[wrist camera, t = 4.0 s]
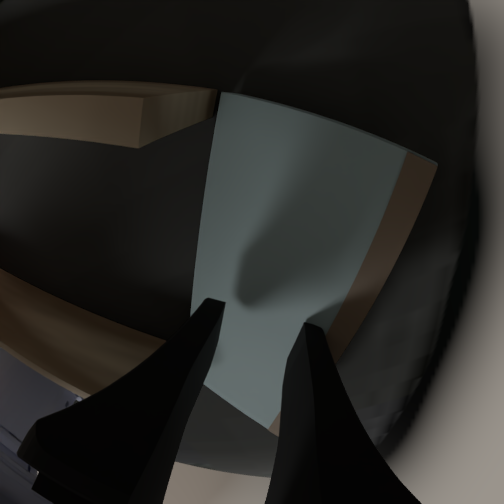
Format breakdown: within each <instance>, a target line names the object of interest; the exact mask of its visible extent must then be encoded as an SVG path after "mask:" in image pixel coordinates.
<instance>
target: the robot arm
mask: <svg viewBox="0 0 504 504" xmlns="http://www.w3.org/2000/svg"><path fill="white" fill-rule="evenodd" d="M225 305H226V302H223V301H220V300H216V299H212V298H209V297H208V298H206V299H204V301H203V302H202V303H201V305H200V306H199V307H198V308H197V310H196V311H195V312H194V313H193V314H192V315H191V317H190V318H189V319H188V320H187V321H186V322H185V323H184V324H183V325H182V326H181V327H180V328H179V329H178V330H177V331H176V332H175V333H174V334H173V335H172V336H171V337H170V338H169V339H168V340H167V341H166V342H165V343H164V344H163V345H162V346H160V347H159V348H158V349H157V350H156V351H155V352H154V353H152V354H151V355H150V356H149V357H148V358H146V359H145V360H144V361H143V362H142V363H140V364H139V365H138V366H136V367H135V368H134V369H132V370H131V371H129V372H128V373H127V374H125V375H124V376H122V377H121V378H119V379H118V380H116V381H115V382H113V383H112V384H110V385H109V386H107V387H105V388H104V389H102V390H100V391H98V392H97V393H95V394H93V395H91V396H89V397H87V398H85V399H84V398H82V397H80V396H78V395H76V394H75V393H73V392H71V391H69V390H67V389H65V388H63V387H62V386H60V385H58V384H56V383H55V382H53V381H51V380H50V379H48V378H46V377H45V376H43V375H41V374H40V373H38V372H36V371H35V370H33V369H32V368H30V367H29V366H27V365H25V364H24V363H22V362H21V361H19V360H18V359H17V358H15V357H14V356H12V355H11V354H9V353H8V352H7V351H5V350H4V349H2V348H1V347H0V504H163V500H164V496H165V492H166V489H167V485H168V482H169V479H170V475H171V472H172V468H173V465H174V462H175V458H176V455H177V452H178V449H179V445H180V442H181V439H182V436H183V432H184V429H185V426H186V424H187V421H188V418H189V416H190V414H191V411H192V409H193V407H194V404H195V402H196V400H197V397H198V395H199V393H200V390H201V388H202V386H203V383H204V381H205V379H206V376H207V374H208V372H209V369H210V367H211V364H212V361H213V357H214V354H215V351H216V348H217V344H218V341H219V336H220V330H221V325H222V320H223V315H224V310H225ZM75 400H78V401H79V402H78V403H76V404H74V405H73V403H74V401H75ZM37 471H39V473H38V475H37ZM265 504H421V503H420V501H418V499H416V497H415V496H414V495H413V494H412V493H411V492H410V491H409V490H408V489H407V488H406V487H405V486H404V485H403V483H402V482H401V481H400V480H399V479H398V477H397V476H396V475H395V474H394V473H393V471H392V470H391V469H390V467H389V466H388V464H387V463H386V462H385V460H384V459H383V457H382V456H381V455H380V453H379V452H378V450H377V449H376V447H375V446H374V444H373V442H372V441H371V439H370V437H369V436H368V434H367V432H366V431H365V429H364V427H363V425H362V423H361V422H360V420H359V418H358V416H357V414H356V412H355V410H354V408H353V406H352V404H351V401H350V399H349V397H348V395H347V393H346V390H345V388H344V386H343V383H342V381H341V378H340V376H339V373H338V371H337V368H336V365H335V363H334V360H333V357H332V354H331V352H330V349H329V346H328V343H327V340H326V336H325V333H324V331H323V329H322V328H321V327H319V326H316V325H314V324H311V323H306V322H304V323H303V326H302V328H301V330H300V332H299V334H298V336H297V339H296V341H295V343H294V345H293V347H292V349H291V351H290V353H289V356H288V358H287V362H286V367H285V373H284V379H283V385H282V399H281V413H280V427H279V439H278V447H277V453H276V458H275V463H274V468H273V472H272V477H271V481H270V485H269V489H268V493H267V497H266V501H265Z"/></svg>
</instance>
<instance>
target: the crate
mask: <svg viewBox="0 0 504 504" xmlns="http://www.w3.org/2000/svg"><path fill="white" fill-rule="evenodd" d="M216 96H217V89H210V88H203V87H196V86H187V85H178V84H168V83H156V82H141V81H116V80H85V81H60V82H46V83H35V84H26V85H18V86H10V87H3V88H0V134H16V135H30V136H43V137H54V138H64V139H73V140H82V141H90V142H98V143H105V144H112V145H119V146H126V147H132V148H141V147H143V146H145V145H147V144H149V143H151V142H153V141H156V140H158V139H160V138H162V137H165V136H167V135H169V134H172V133H174V132H176V131H179V130H181V129H184V128H186V127H189V126H191V125H194V124H196V123H199V122H201V121H204V120H207V119H209V118H212V117H213V112H214V106H215V101H216ZM165 342H166V340H163V339H160V338H157V337H154V336H151V335H148V334H146V333H143V332H140V331H137V330H135V329H132V328H129V327H127V326H124V325H121V324H119V323H116V322H114V321H111V320H109V319H106V318H104V317H101V316H99V315H96V314H94V313H91V312H89V311H87V310H84V309H82V308H80V307H77V306H75V305H73V304H71V303H68V302H66V301H64V300H62V299H60V298H58V297H55V296H53V295H51V294H49V293H47V292H45V291H43V290H41V289H39V288H37V287H35V286H33V285H31V284H29V283H27V282H25V281H23V280H21V279H19V278H17V277H15V276H13V275H12V274H10V273H8V272H6V271H4V270H2V269H1V268H0V347H1V348H2V349H4V350H5V351H7V352H8V353H9V354H11V355H12V356H14V357H15V358H17V359H18V360H19V361H21V362H22V363H24V364H25V365H27V366H29V367H30V368H32V369H33V370H35V371H36V372H38V373H40V374H41V375H43V376H45V377H46V378H48V379H50V380H51V381H53V382H55V383H56V384H58V385H60V386H62V387H63V388H65V389H67V390H69V391H71V392H73V393H75V394H76V395H78V396H80V397H82V398H84V399H85V398H87V397H89V396H91V395H93V394H95V393H97V392H98V391H100V390H102V389H104V388H105V387H107V386H109V385H110V384H112V383H113V382H115V381H116V380H118V379H119V378H121V377H122V376H124V375H125V374H127V373H128V372H129V371H131V370H132V369H134V368H135V367H136V366H138V365H139V364H140V363H142V362H143V361H144V360H145V359H146V358H148V357H149V356H150V355H151V354H152V353H154V352H155V351H156V350H157V349H158V348H159V347H160V346H162V345H163V344H164V343H165Z"/></svg>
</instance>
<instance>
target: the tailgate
mask: <svg viewBox="0 0 504 504" xmlns="http://www.w3.org/2000/svg"><path fill="white" fill-rule="evenodd" d="M437 167H438V164H437V162H435V161H433V160H431V159H429V158H427V157H424V156H422V155H420V154H418V153H416V152H414V151H412V150H409V149H407V148H405V147H402V146H400V145H398V144H396V143H393V142H391V141H389V140H386V139H384V138H381V137H379V136H376V135H374V134H371V133H369V132H366V131H364V130H361V129H358V128H356V127H353V126H350V125H348V124H345V123H342V122H339V121H336V120H333V119H330V118H327V117H324V116H321V115H318V114H315V113H312V112H308V111H305V110H302V109H298V108H295V107H291V106H288V105H284V104H280V103H277V102H273V101H269V100H265V99H261V98H257V97H252V96H248V95H244V94H239V93H230V92H221V97H220V102H219V108H218V113H217V119H216V124H215V130H214V136H213V142H212V148H211V154H210V160H209V166H208V173H207V179H206V186H205V193H204V200H203V207H202V215H201V222H200V230H199V238H198V246H197V255H196V263H195V273H194V282H193V292H192V302H191V313H190V317H191V315H192V314H193V313H194V312H195V311H196V310H197V308H198V307H199V306H200V305H201V303H202V302H203V301H204V299H206V298H208V297H209V298H212V299H216V300H220V301H223V302H226V305H225V310H224V315H223V320H222V325H221V330H220V336H219V341H218V344H217V348H216V351H215V354H214V357H213V361H212V364H211V367H210V369H209V372H208V374H207V376H206V379H205V381H204V383H203V384H204V385H206V386H207V387H208V388H210V389H211V390H212V391H214V392H215V393H216V394H218V395H219V396H221V397H222V398H223V399H225V400H226V401H227V402H229V403H230V404H232V405H233V406H234V407H236V408H237V409H239V410H240V411H242V412H243V413H244V414H246V415H247V416H249V417H250V418H252V419H253V420H255V421H256V422H258V423H259V424H261V425H262V426H264V427H266V428H267V429H268V430H269V431H270V432H272V433H273V434H275V435H277V436H278V437H279V427H280V413H281V399H282V385H283V379H284V373H285V367H286V362H287V358H288V356H289V353H290V351H291V349H292V347H293V345H294V343H295V341H296V339H297V336H298V334H299V332H300V330H301V328H302V326H303V323H304V322H306V323H311V324H314V325H316V326H319V327H321V328H322V329H323V331H324V333H325V336H326V340H327V343H328V346H329V349H330V352H331V354H332V357H333V360H334V363H335V364H336V363H337V361H338V360H339V358H340V357H341V355H342V354H343V352H344V351H345V349H346V348H347V346H348V344H349V343H350V341H351V340H352V338H353V337H354V335H355V333H356V332H357V330H358V328H359V327H360V325H361V324H362V322H363V320H364V319H365V317H366V315H367V314H368V312H369V310H370V308H371V307H372V305H373V303H374V301H375V300H376V298H377V296H378V294H379V293H380V291H381V289H382V287H383V285H384V283H385V282H386V280H387V278H388V276H389V274H390V272H391V270H392V268H393V266H394V264H395V263H396V261H397V259H398V257H399V255H400V253H401V251H402V249H403V246H404V244H405V242H406V240H407V238H408V236H409V234H410V232H411V230H412V227H413V225H414V223H415V221H416V219H417V216H418V214H419V212H420V210H421V207H422V205H423V202H424V200H425V198H426V195H427V193H428V190H429V188H430V185H431V183H432V180H433V178H434V175H435V173H436V170H437Z"/></svg>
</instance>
